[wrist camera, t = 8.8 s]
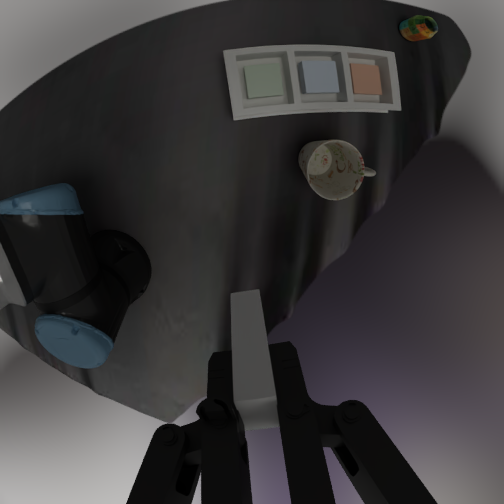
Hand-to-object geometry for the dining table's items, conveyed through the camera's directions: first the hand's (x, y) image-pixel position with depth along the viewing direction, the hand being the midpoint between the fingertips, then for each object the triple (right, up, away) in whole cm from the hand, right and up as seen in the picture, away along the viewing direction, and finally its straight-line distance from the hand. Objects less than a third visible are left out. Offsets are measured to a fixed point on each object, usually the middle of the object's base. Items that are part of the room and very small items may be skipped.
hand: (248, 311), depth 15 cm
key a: (+2, +28, +20) cm, 35 cm away
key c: (+18, +31, +20) cm, 41 cm away
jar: (+29, +44, +16) cm, 55 cm away
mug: (+13, +19, +28) cm, 36 cm away
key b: (+10, +29, +19) cm, 36 cm away
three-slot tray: (+10, +30, +22) cm, 38 cm away
